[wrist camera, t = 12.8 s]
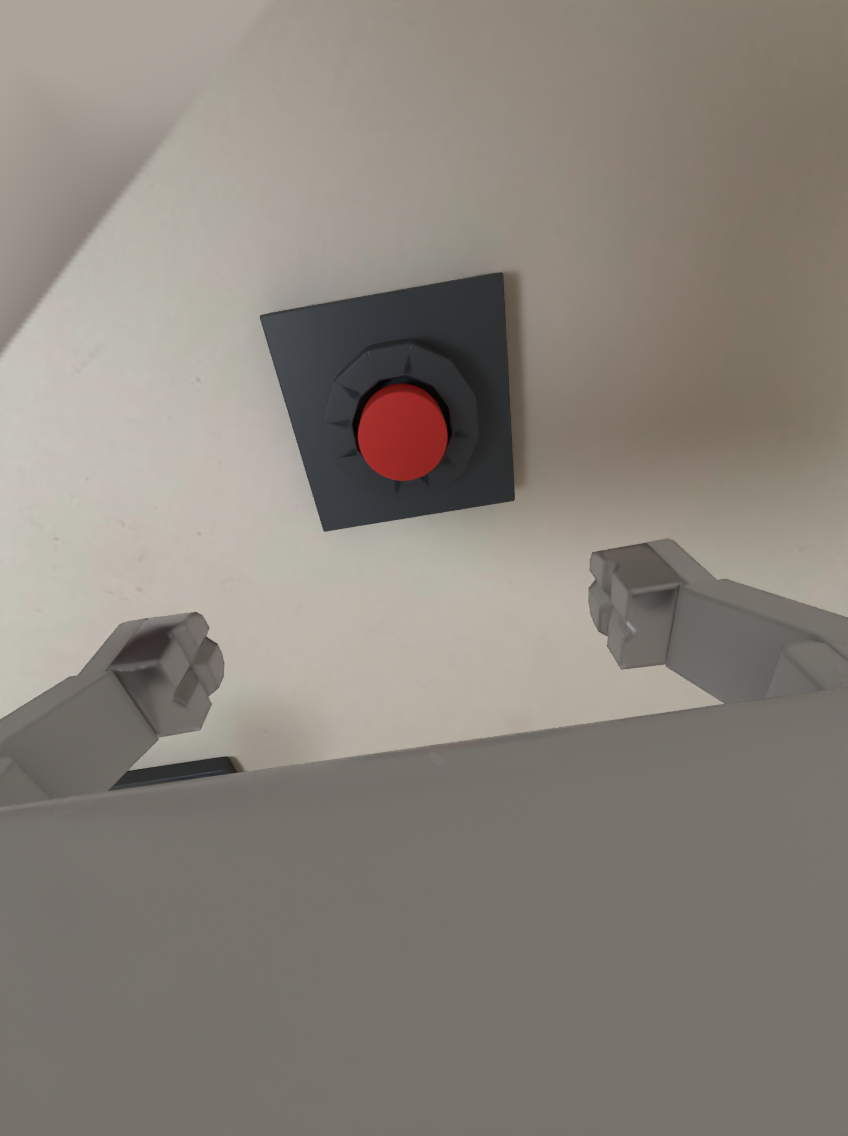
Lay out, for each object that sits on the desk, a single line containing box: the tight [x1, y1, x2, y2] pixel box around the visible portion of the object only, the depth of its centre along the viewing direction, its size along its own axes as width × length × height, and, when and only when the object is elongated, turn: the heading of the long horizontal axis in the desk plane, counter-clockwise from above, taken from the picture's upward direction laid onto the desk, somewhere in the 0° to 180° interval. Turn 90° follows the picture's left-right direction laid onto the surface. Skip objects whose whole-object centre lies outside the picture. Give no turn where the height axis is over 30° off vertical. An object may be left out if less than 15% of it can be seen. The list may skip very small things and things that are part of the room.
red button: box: [358, 383, 448, 481], centre depth 19 cm, size 4×4×2 cm
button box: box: [260, 272, 515, 531], centre depth 21 cm, size 10×10×4 cm
